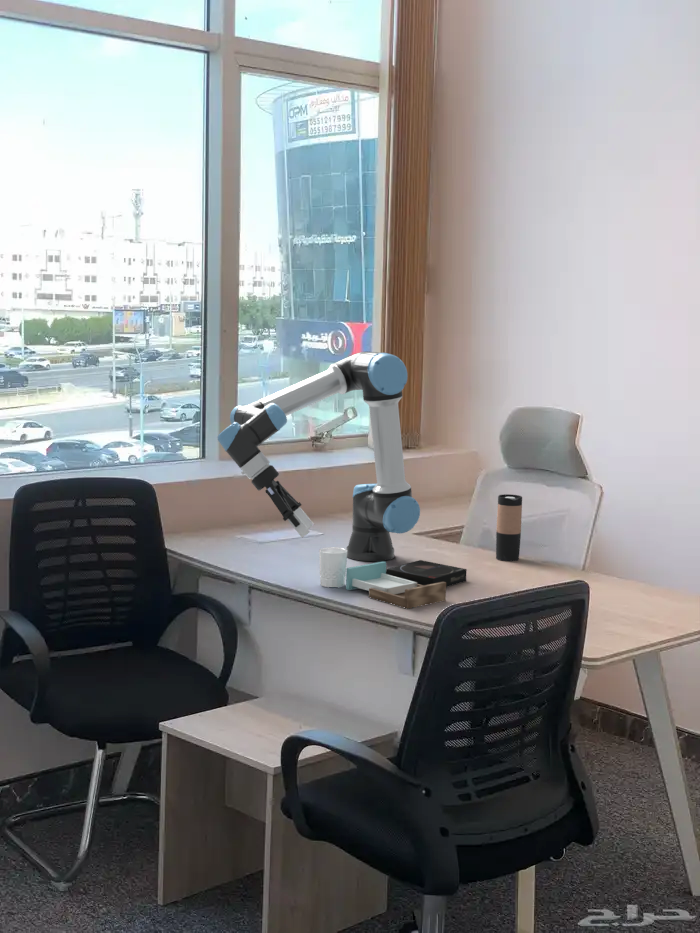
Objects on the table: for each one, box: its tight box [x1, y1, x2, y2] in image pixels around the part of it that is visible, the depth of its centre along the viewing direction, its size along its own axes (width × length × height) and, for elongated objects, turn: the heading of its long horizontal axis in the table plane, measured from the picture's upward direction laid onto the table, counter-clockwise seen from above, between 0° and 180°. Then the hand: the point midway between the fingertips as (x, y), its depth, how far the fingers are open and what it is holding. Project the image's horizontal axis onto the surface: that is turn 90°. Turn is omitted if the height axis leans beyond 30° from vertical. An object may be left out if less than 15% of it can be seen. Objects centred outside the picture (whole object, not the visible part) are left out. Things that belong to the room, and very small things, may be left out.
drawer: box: [368, 582, 447, 610], centre depth 314 cm, size 14×15×5 cm
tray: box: [345, 560, 417, 594], centre depth 321 cm, size 14×15×6 cm
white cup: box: [318, 547, 348, 588], centre depth 327 cm, size 8×8×10 cm
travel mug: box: [495, 493, 523, 562], centre depth 366 cm, size 8×8×20 cm
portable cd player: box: [386, 559, 467, 588], centre depth 335 cm, size 16×17×4 cm
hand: (308, 531), depth 326 cm, fingers open, 13 cm apart
